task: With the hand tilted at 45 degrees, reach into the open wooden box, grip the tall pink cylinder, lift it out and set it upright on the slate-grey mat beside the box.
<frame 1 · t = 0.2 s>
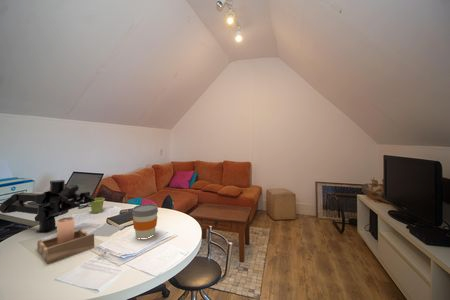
hand: (87, 202, 105), 17 cm above the table, tool horizontal, fingers open, 9 cm apart
grey mat: (106, 232, 107), on the table
open wooden box: (66, 250, 89), on the table
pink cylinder: (66, 248, 89), point 1 cm above the table, touching open wooden box
reusable coffee cup: (145, 236, 103), on the table
plant pot: (97, 212, 138), on the table
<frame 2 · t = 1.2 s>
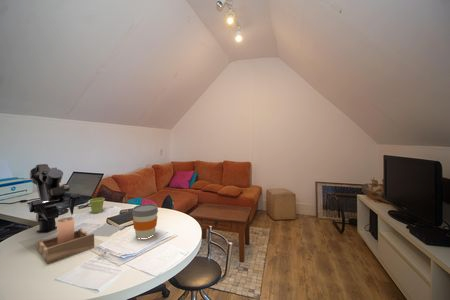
hand: (60, 216, 93), 13 cm above the table, tool tilted 45°, fingers open, 9 cm apart
nothing on the table moved.
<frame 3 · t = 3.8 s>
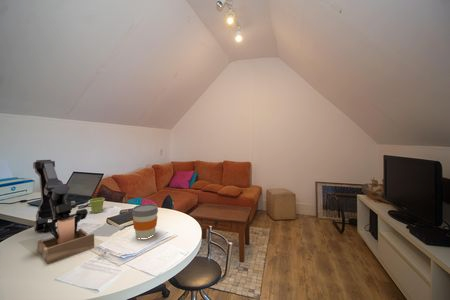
hand: (67, 235, 88), 7 cm above the table, tool tilted 45°, fingers closed on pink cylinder, 6 cm apart
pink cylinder: (66, 247, 89), point 1 cm above the table, touching open wooden box, gripper
everything else where it was.
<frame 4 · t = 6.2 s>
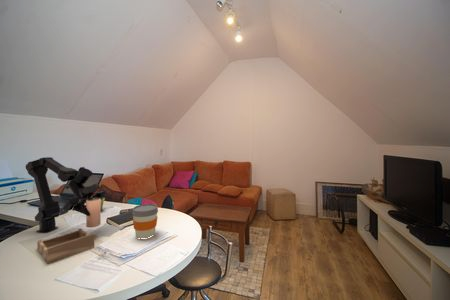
hand: (95, 213, 98), 13 cm above the table, tool tilted 45°, fingers closed on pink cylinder, 6 cm apart
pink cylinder: (93, 224, 99), point 7 cm above the table, touching gripper
everything else where it was.
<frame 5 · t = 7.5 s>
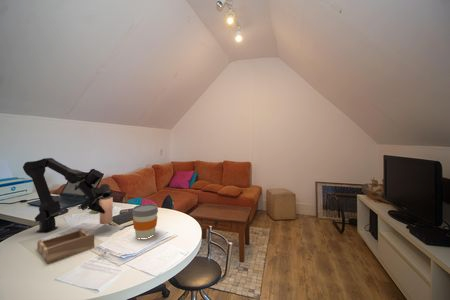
hand: (108, 211, 106), 12 cm above the table, tool tilted 45°, fingers closed on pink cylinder, 6 cm apart
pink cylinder: (106, 222, 107), point 6 cm above the table, touching gripper
everything else where it was.
when the fingers open (8 cm above the table, at t = 8.6 s): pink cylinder drops 1 cm, resting on grey mat.
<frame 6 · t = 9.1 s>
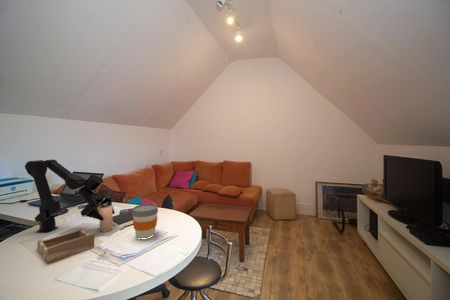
hand: (108, 216, 107), 9 cm above the table, tool tilted 45°, fingers open, 9 cm apart
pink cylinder: (106, 230, 107), point 1 cm above the table, touching grey mat
everything else where it was.
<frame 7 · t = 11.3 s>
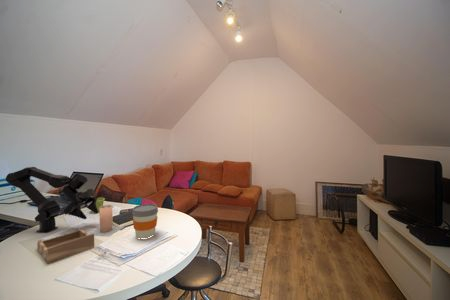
hand: (92, 215, 107), 9 cm above the table, tool tilted 45°, fingers open, 9 cm apart
nothing on the table moved.
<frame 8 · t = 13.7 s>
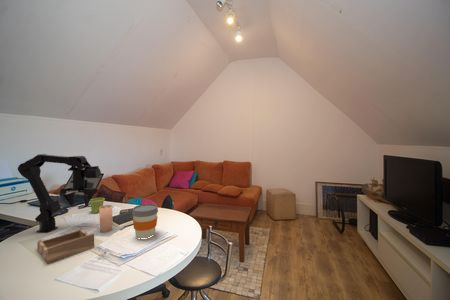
hand: (79, 205, 111), 13 cm above the table, tool pointing down, fingers open, 9 cm apart
nothing on the table moved.
at the end: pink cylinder inside the target area (0.2 cm from its centre), point 1.0 cm above the table; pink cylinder tilted 0°; the gripper is holding nothing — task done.
